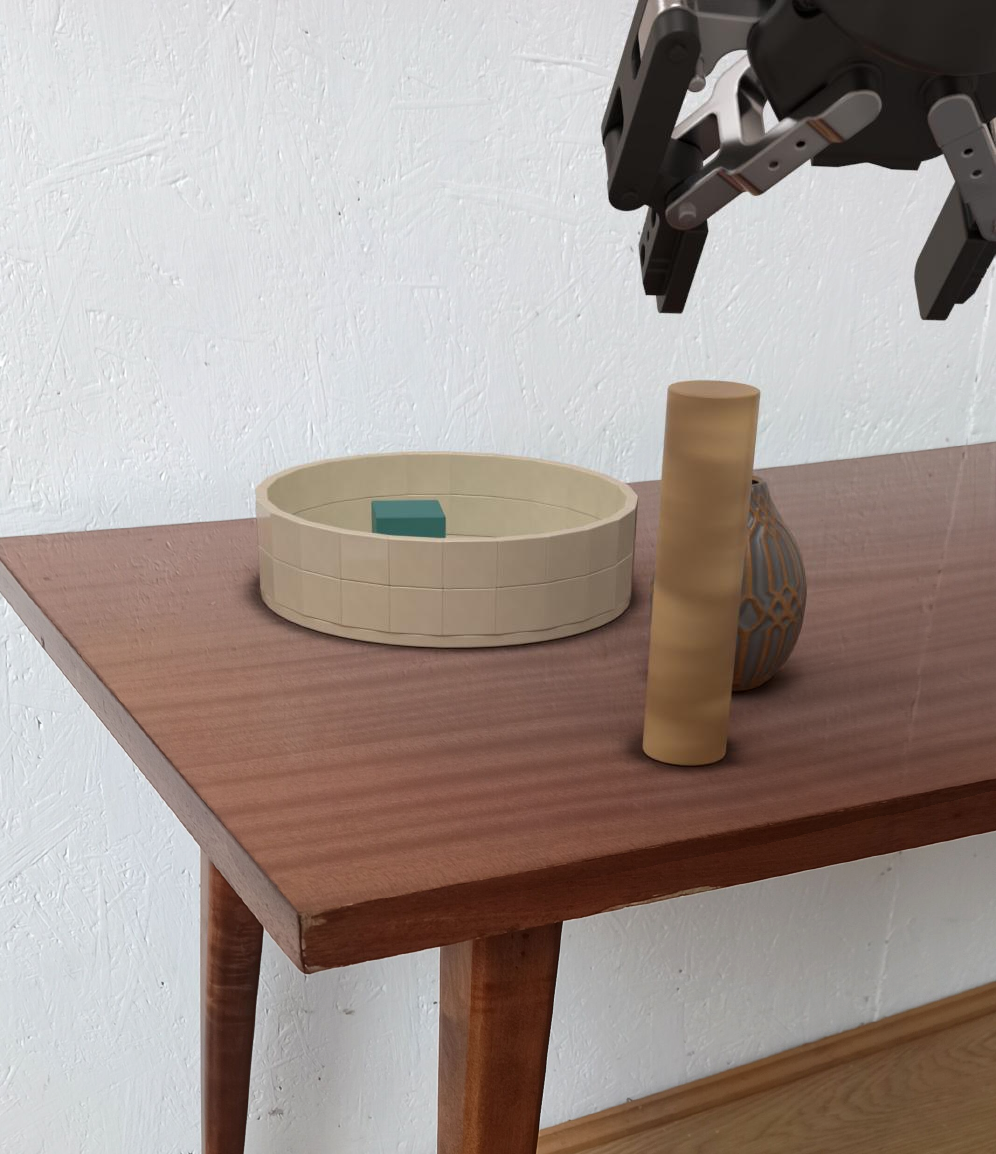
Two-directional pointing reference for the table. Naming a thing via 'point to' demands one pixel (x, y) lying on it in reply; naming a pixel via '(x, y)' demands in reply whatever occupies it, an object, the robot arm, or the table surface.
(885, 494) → the table surface
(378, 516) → the block
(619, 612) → the bowl
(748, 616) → the vase
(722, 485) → the stick
